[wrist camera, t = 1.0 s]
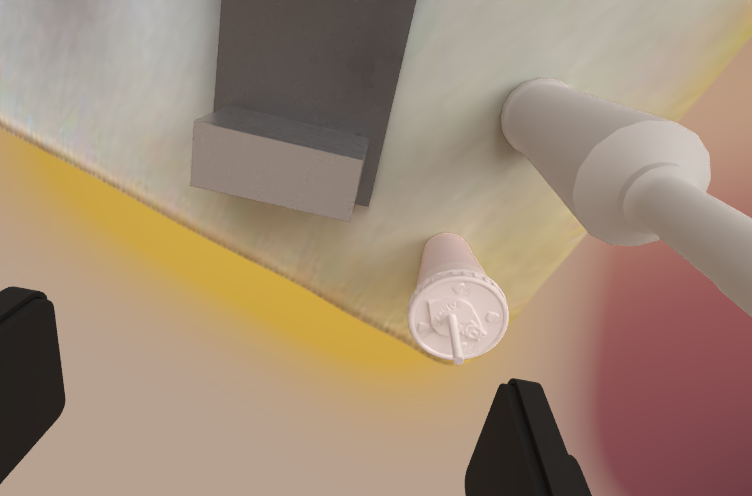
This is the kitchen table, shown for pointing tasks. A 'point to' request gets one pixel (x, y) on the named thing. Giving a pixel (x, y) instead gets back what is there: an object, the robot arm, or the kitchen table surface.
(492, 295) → the smoothie
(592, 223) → the bottle
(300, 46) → the clamp base
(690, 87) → the kitchen table surface
